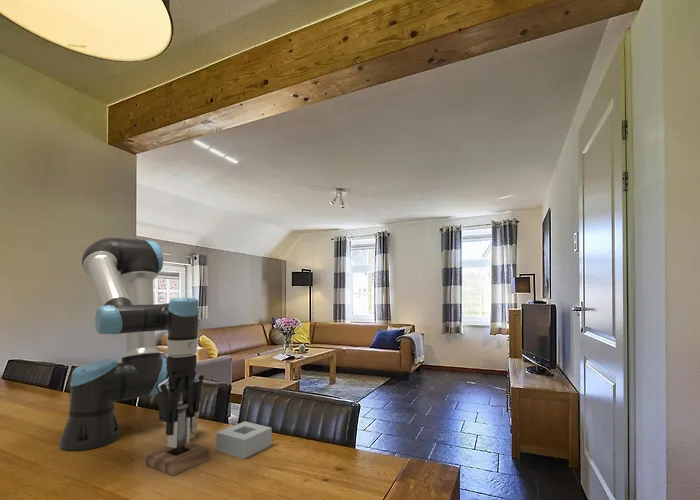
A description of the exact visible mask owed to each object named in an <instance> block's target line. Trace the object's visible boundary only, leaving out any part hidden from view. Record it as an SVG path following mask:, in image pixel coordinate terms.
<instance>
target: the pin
mask: <svg viewBox="0 0 700 500" xmlns="http://www.w3.org/2000/svg"><path fill="white" fill-rule="evenodd" d="M188 406H189V403H186V402H181V401H178V406H177V412H176V418H175V421H177V422H178V427H177V447H176V448H172V455H175V456H177V455H180V454H182V453H185V432H186V409H187V408H188Z"/></svg>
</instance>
